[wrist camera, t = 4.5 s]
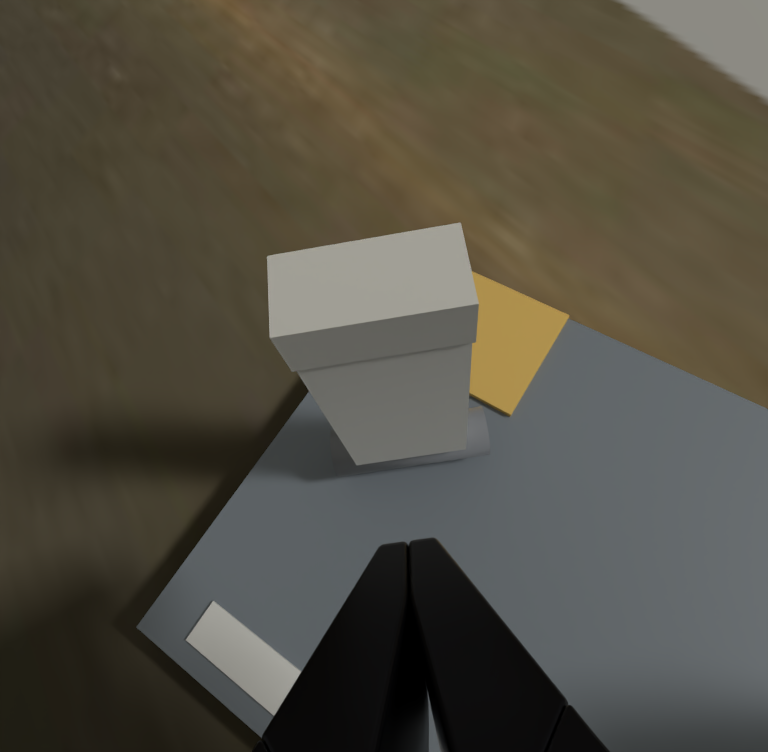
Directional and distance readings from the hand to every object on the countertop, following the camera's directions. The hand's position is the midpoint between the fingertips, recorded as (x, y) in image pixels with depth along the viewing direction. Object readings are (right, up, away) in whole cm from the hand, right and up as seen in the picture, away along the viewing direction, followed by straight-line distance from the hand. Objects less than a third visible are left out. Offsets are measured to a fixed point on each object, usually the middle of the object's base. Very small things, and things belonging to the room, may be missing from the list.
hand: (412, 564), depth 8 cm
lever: (0, +1, +8) cm, 8 cm away
